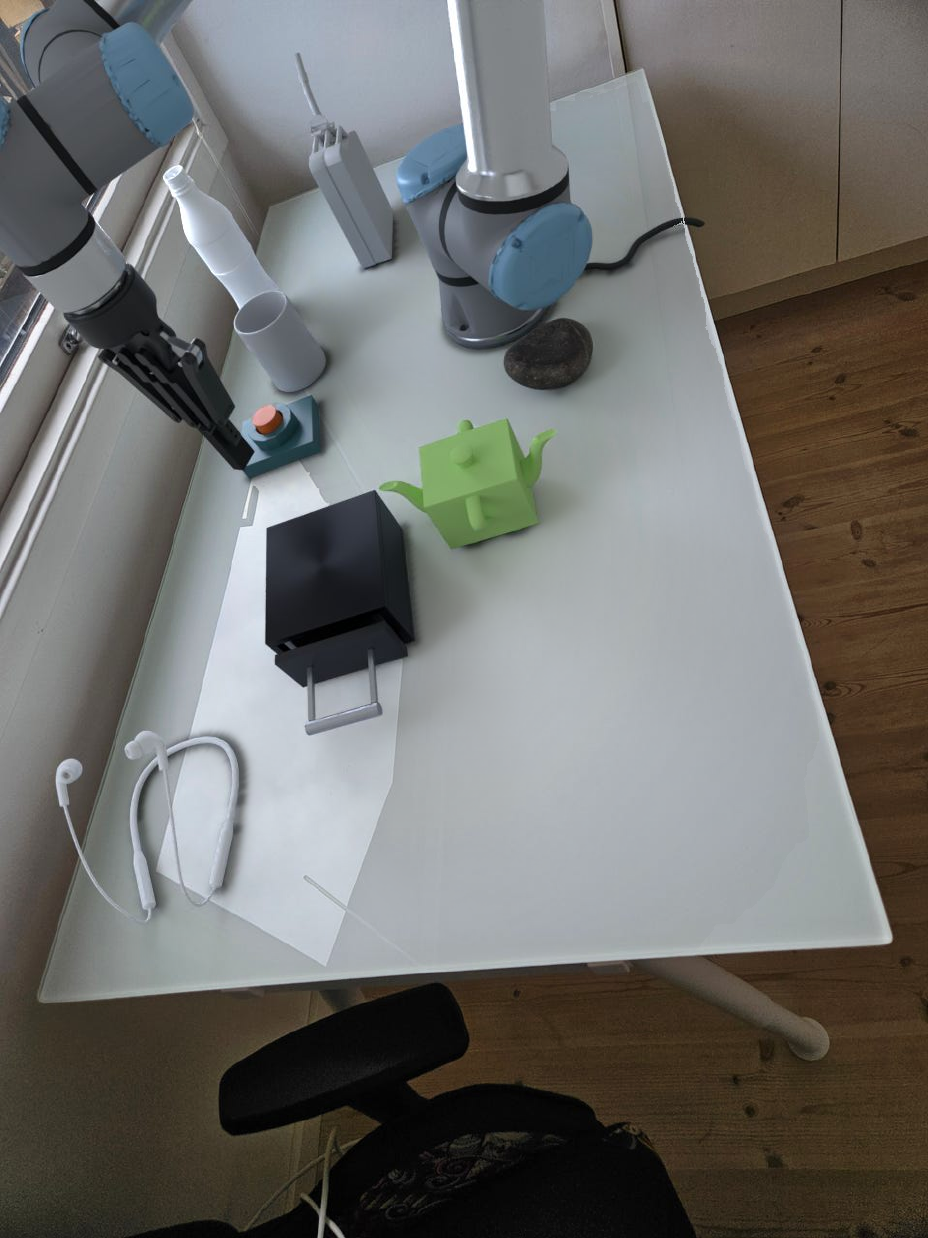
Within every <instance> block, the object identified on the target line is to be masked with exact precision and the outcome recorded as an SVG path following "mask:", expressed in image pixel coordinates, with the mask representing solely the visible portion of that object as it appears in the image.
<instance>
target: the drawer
mask: <svg viewBox="0 0 928 1238" xmlns="http://www.w3.org/2000/svg"><path fill="white" fill-rule="evenodd" d="M284 644H285V645H287V646H288V647H289V648H290V649H291V650H289V651H286V652H282V653H279V654H276V653H275V654H274V665H275V666H276V667H277V668H278V669H279V670H280V671H282V672H283V673H285V674H286V675H287V676H288V677H290V678H291V679H292V680H293V681H294V682H296V683H297V684H298V685H299V686H300V687H302V688H307V721H306V722H305V723H304V731H305V734H306V735H307V736H314V735H317V734H321V733H324V732H327V731H332V730H335V729H338V728H342V727H346V726H349V725H353V724H356V723H359V722H360V723H361V722H363V721H366V720H367V721H368V720H370V719H374V718H377V717H381V716H382V715H383V711H384V710H383V706H382V705H381V703H380V702H379V694H378V693H379V691H378V680H377V666H380V665H384V664H387V663H391V662H393V661H397V660H400V659H404V658H407V657H409V651H408V646H407V644H404V643H403V642H402V640H401V639H400V638H399V637H398V632H397V630H396V629H395V628H394V627H393V626H392V625H391V624H390V622H389V621H388V620H387V619H386V618H385V617H384V616H383V614H382V613H378V614H375V615H372V616H368V617H365V618H362V619H359V620H356V621H353V622H349V623H346V624H343V625H340V626H337V627H334V628H330V629H327V630H324V631H321V632H318V633H314V634H311V635H308V636H305V637H302V638H299V639H295V640H292V641H289V642H286V643H284ZM367 669H368V680H369V695H370V703H368V704H365V705H361V706H357V707H354V708H351V709H347V710H344V711H341V712H336V713H334V714H333V713H332V714H330V715H327V716H322V717H320V718H316V717H317V715H316V714H317V713H316V710H317V709H316V684H320V683H323V682H327V681H330V680H334V679H338V678H340V677H343V676H348V675H350V674H354V673H357V672H361V671H364V670H367Z"/></svg>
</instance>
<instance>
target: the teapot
mask: <svg viewBox="0 0 928 1238" xmlns="http://www.w3.org/2000/svg"><path fill="white" fill-rule="evenodd" d="M557 432H558V431H557V430H556V429H546V430H544V431H542V432H539V433H538V434H536V436H534V437H533V439H532V440H531V443H530V445H529V451H528V452H529V453H528V455H527V456H526V457H525V454H524V452H523V450H522V448H521V445H520V443H519V441H518V439H517V436H516V435H515V432H514V429H513V427H512V425H511V422H510V421H509V419H508V418H503V419H499V420H496V421H493V422H490V423H487V424H483V425H481V426H478V427H474V424H473V423H472V421H471V420H470V419H465V418H464V419H462V420H460V421H459V423H458V425H457V434H454V435H450V436H447V437H444V438H441V439H439V440H436V441H433V442H430V443H427V444H424V445H422V446H421V445H420V446H419V447H418V448H419V449H418V451H419V462H420V463H419V464H420V473H421V474H420V475H421V486H422V487H418V486H415V485H413V484H410V483H409V482H406V481H403V480H389V481H386V482H384V483H382V484H381V485H379V487H378V490H379V491H382V492H393V493H396V494H399V495H401V496H403V497H404V498H405V499H406V500H408V502H410V503H411V504H412V505H413V506H414V507H415V508H416V509H418V510H419V511H421V513H424V514H427V515H428V517H429V518H430V521H432V523H433V524H434V527H435V528H436V529H437V531H438V532H439V534H440V535H441V537H442V539H443V540H444V542H445V543H446V545H447V547H448V548H449V549H450V550H453V549H457V548H460V547H464V546H466V545H471V544H472V545H473V544H477V543H478V542H481V541H484V540H487V539H491V538H494V537H498V536H500V535H504V534H508V533H511V532H517V531H520V530H522V529H525V528H527V527H530V526H534V525H538V524H539V521H538V514H537V508H536V503H535V497H534V492H533V486H534V484H535V483H536V482H537V481H538V479H539V477H540V475H541V474H542V473H541V472H542V467H543V451H544V447H545V445H546V444H547V442H549V441H550V440H551V439H552V438H553V437H554V436H555V435H556V434H557Z"/></svg>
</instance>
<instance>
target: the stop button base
mask: <svg viewBox="0 0 928 1238" xmlns="http://www.w3.org/2000/svg"><path fill="white" fill-rule="evenodd" d="M270 405H271V406H274V407H275V408H276V410H277V411H278V412H279V414H280V415H281V416H282V422H281V424H280V426H279V427H278V428H277V429H275V430H274V431H273V432H271V433H268V434H262V433H260V431H259V430H258V429H257V428H256V427H255V425H254V424H253V422H252V418H253V417H250V418H247V419H245V420H243V421H242V422H241V435H242V436H243V438H244V439H245V440H246V441H247V442H248V444H249V445H250V446H251V447H252V448H253V450H254V451H255V452H254V454H253V456H252V457H251V459H250V461H249V463H248V464H247V466H246V468H245V469H244V471H242V472H243V474H245V476H246V477H247V478H249V479H251V478H254V477H256V476H260V475H262V474H264V473H268V472H271V471H273V470H276V469H279V468H282V467H283V466H287V465H289V464H291V463H294V462H297V461H300V460H303V459H306V458H308V457H311V456H314V455H316V454H319V453H321V452H322V447H321V446H322V445H321V443H322V442H321V417H320V405H319V403H318V402H317V401H316V398H314V396H313V395H312V394H310V395H308V396H304V397H302V398H300V399H297V400H295V401H294V400H293V401H292V402H289V403H287V404H286V403H273V404H270Z"/></svg>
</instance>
